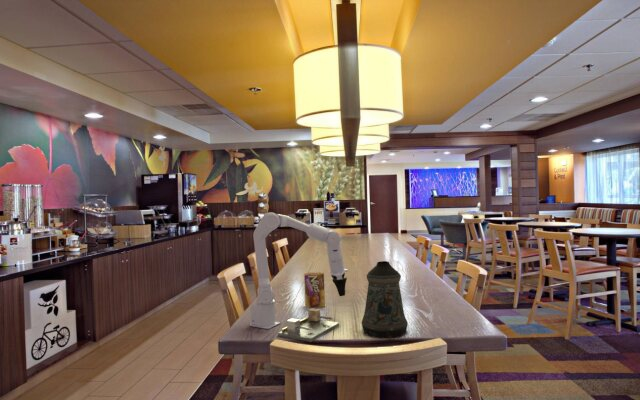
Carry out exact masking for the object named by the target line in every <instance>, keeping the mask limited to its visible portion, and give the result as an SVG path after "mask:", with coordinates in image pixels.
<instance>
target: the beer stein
mask: <svg viewBox="0 0 640 400" xmlns="http://www.w3.org/2000/svg"><path fill="white" fill-rule="evenodd" d="M401 278H402V275H401V274H400V272H399V271H397V270H396V269H395V268H394V267H393V266H392V265H391V263H390V261H386V260H382V261H377V262H376V265H375V266H373V267H372V269H371V270H369V271H368V273H367V274H366V280H367V284H368V286H367V294H366V299H365V301H366V302H365V307H364V313H363V317H362V319H361V327H362V328H361V329H362V332H363V333H364V335H366V336H368V337H371V338H376V339H385V340H386V339H389V340H390V339H396V338H400V337H403V336H405V335H406V334H407V329H408V324H409V323H408V320H407V318H406V315H405V310H404V305H403V300H402V299H403V298H402V291H401V287H400V281H401Z"/></svg>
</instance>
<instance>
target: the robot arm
mask: <svg viewBox="0 0 640 400" xmlns="http://www.w3.org/2000/svg"><path fill="white" fill-rule="evenodd" d="M278 227H281V228H282V227H290V228H293V229H297V230H298V231H302V232H305V233H306V235H307V237H309V238H311V239H314V240H317V241H319V242H322V243H325V244H326V253H327V257H328V263H329V269H330V272H329V274H330V276H331V277H332V282H333V284H334V285H335V287H336V290H337V292H338V293H337V294H338V296H339V297H345V296H346V284H347V279H348V278H347V277H345V275H346V273H347V272H349V271H348V270H349V269H348V268H345V264H344V258H343V252H342V247H341V241H342V240H341V239H342V237H341V235H340V234H339V233H338V232H337V231H335V230H333V229H331V228H330V227H325V226H322V225H320V223H318V222H315V223H314V222H313V223H312V222H311V223H310V224H307V223H305V222H303V221H300V220H298V219H295V218H293V217H290V216H288V215H285V214H280V213H275V212H272V211H270V212H267V213H265V214H264V215H263V216H262V217H261V218H260V220H259V222H258V223H257V226H256V228H255V229H254V232H253V235H252V236H253V243H254V244H253V245H254V246H253V247H254V253H255V263H256V271H257V280H258V287H257V289H256V290H257V291H256V292H257V300H255V301H254V302H252V303H251V306H250V312H249V313H250V324H249V327H255V328H259V329H265V330H269V329H272V328H273V327H276V326H278V325H280V324H281V322H280V321H277V320H276V300H275V294H274V289H273V287H272V284H271V280H270V279H271V278H270V271H269V263H268V262H269V260H268V254H267V252H268V251H267V243H266V238H267V237H268V236H269V235H270V233H271V232H272V231H275V230H276V229H277V228H278Z"/></svg>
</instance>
